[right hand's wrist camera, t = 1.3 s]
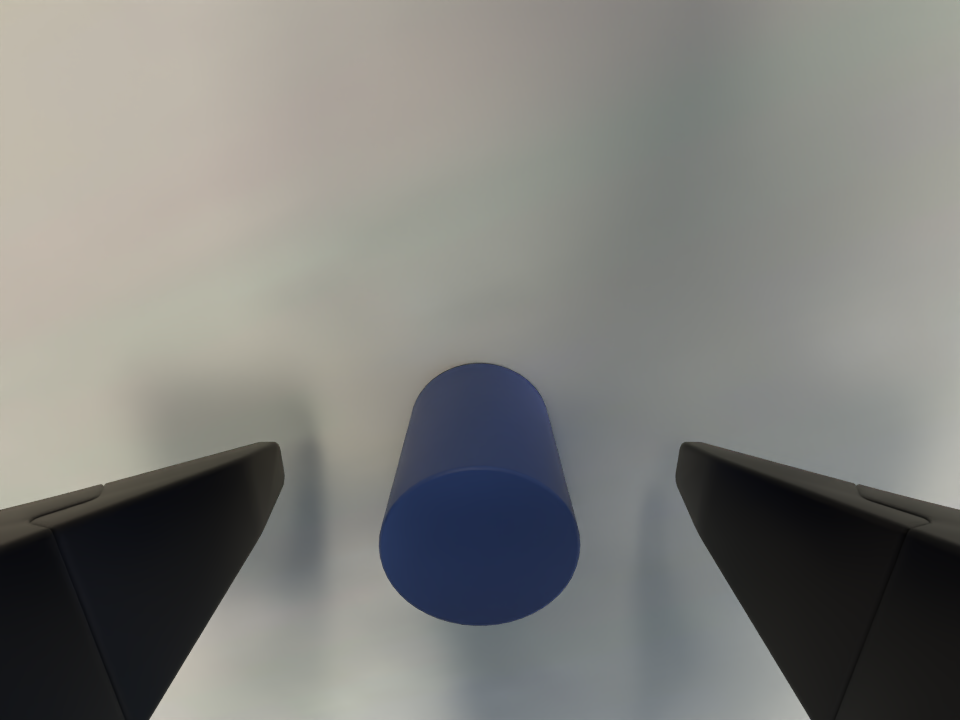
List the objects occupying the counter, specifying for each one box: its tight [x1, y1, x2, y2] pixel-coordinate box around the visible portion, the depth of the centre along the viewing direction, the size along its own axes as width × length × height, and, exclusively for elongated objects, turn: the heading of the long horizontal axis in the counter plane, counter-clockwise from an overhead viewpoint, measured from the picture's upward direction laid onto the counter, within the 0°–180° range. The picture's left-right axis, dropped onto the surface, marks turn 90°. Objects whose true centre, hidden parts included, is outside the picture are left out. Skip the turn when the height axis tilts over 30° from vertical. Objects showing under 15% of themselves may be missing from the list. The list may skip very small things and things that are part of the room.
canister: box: [379, 363, 580, 626], centre depth 11 cm, size 4×4×4 cm
